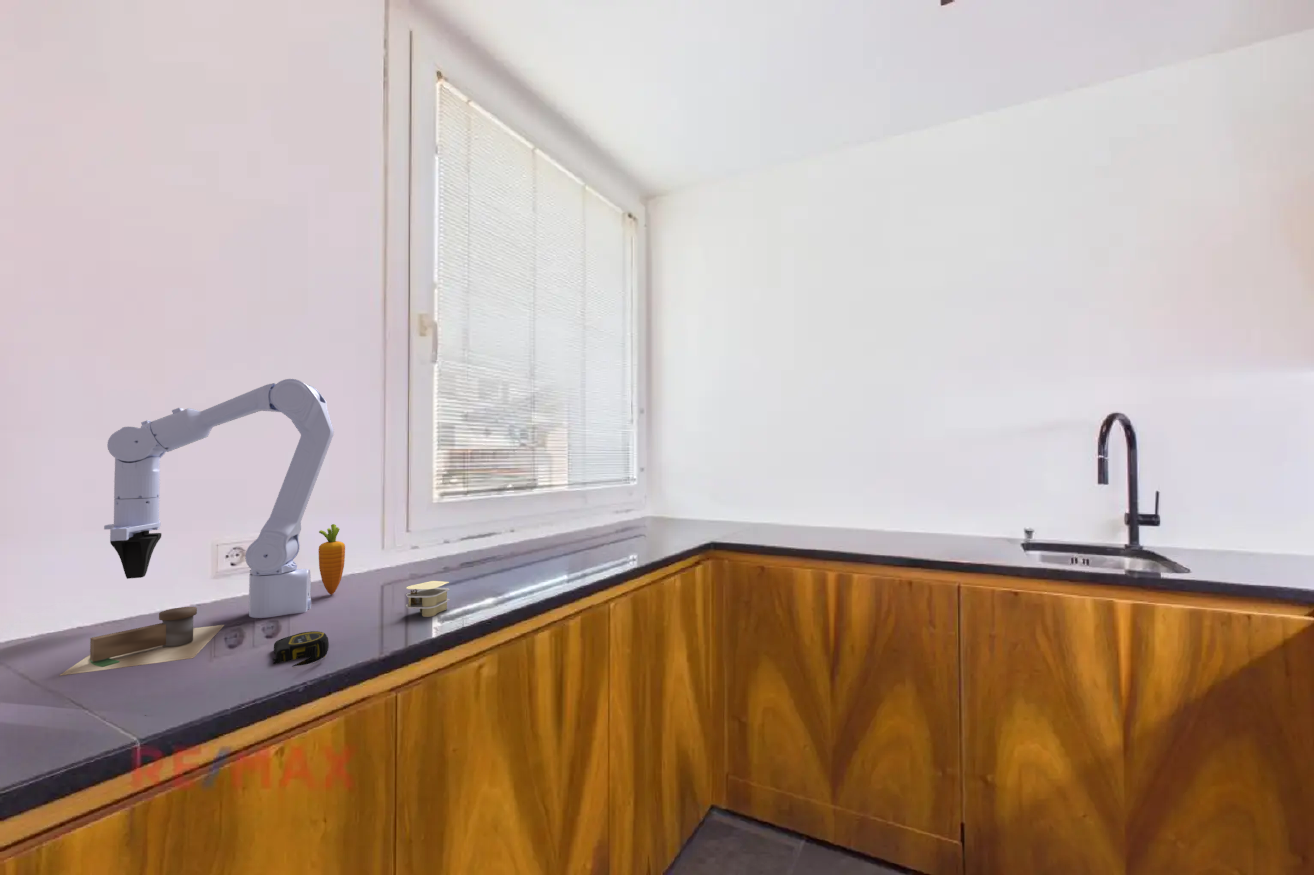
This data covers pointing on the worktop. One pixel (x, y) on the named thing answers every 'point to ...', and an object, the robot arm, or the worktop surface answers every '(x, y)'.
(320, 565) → the carrot
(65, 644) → the worktop surface
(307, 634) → the tape measure
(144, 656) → the dial board
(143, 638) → the dial pointer
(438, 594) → the stacked layers on plate
